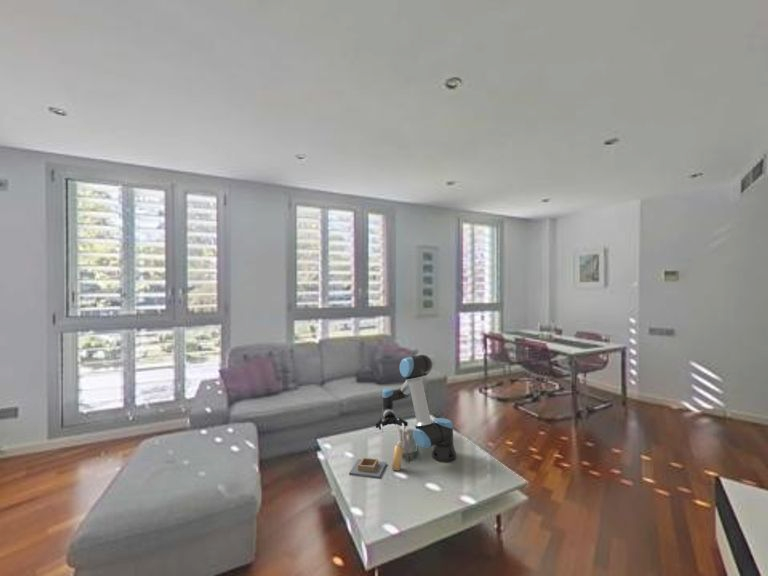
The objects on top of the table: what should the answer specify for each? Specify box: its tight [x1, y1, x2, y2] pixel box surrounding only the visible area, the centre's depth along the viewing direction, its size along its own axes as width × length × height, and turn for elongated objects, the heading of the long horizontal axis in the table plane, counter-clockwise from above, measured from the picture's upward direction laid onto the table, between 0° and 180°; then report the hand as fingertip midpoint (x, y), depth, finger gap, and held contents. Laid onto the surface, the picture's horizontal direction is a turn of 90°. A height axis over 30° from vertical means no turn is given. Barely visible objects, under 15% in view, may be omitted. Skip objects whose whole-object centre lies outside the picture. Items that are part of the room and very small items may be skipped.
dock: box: [349, 457, 387, 479], centre depth 214 cm, size 18×16×4 cm
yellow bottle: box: [391, 440, 404, 472], centre depth 214 cm, size 5×5×16 cm
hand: (393, 430), depth 222 cm, fingers open, 13 cm apart
